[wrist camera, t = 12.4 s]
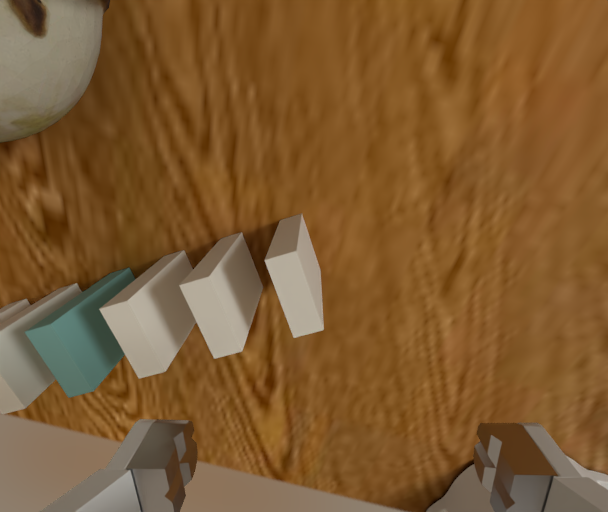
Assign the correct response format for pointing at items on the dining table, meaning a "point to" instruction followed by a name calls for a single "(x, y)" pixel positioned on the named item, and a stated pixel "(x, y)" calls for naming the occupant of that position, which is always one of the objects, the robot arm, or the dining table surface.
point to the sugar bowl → (45, 60)
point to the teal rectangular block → (81, 337)
